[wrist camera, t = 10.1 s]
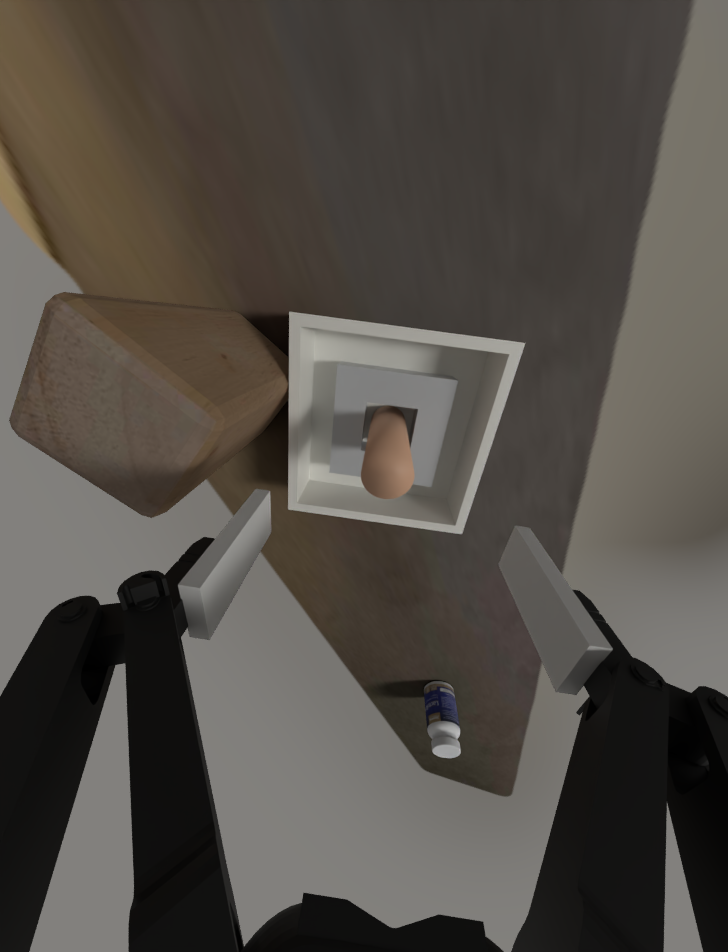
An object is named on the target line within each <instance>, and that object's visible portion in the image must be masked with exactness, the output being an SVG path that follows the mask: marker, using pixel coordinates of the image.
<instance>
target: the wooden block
mask: <svg viewBox="0 0 728 952" xmlns="http://www.w3.org/2000/svg"><path fill="white" fill-rule="evenodd" d="M288 399H289V357H288V356H287V355H286V354H284V353H283V352H282V351H281V350H280V349H279V348H278V347H277V346H276V345H274V344H273V343H272V342H271V341H270V340H269V339H268V338H267V337H265V336H264V335H263V334H262V333H261V332H260V331H259V330H258V329H257V328H255V327H254V326H253V325H252V324H251V323H250V322H249V321H248V320H247V319H245V318H244V317H243V316H242V315H241V314H240V313H238V312H235V311H233V310H224V309H215V308H205V307H196V306H187V305H178V304H169V303H159V302H150V301H141V300H132V299H123V298H113V297H104V296H95V295H86V294H76V293H67V292H63V293H60V294H57V295H54V296H53V297H52V298H51V299H50V300H49V301H48V302H47V303H46V304H45V307H44V310H43V314H42V317H41V320H40V323H39V326H38V330H37V333H36V336H35V339H34V343H33V346H32V349H31V352H30V355H29V359H28V362H27V365H26V368H25V372H24V375H23V378H22V381H21V384H20V387H19V391H18V394H17V397H16V400H15V404H14V407H13V410H12V413H11V417H10V420H9V421H10V424H11V427H12V429H13V430H14V431H15V432H16V434H17V435H18V436H19V437H21V438H22V439H24V440H25V441H27V442H28V443H30V444H31V445H33V446H35V447H36V448H38V449H39V450H41V451H42V452H44V453H46V454H47V455H49V456H50V457H52V458H53V459H55V460H56V461H58V462H60V463H61V464H63V465H64V466H66V467H67V468H69V469H70V470H72V471H74V472H75V473H77V474H78V475H80V476H82V477H83V478H85V479H86V480H88V481H89V482H91V483H92V484H94V485H95V486H97V487H99V488H100V489H102V490H103V491H105V492H107V493H108V494H109V495H111V496H113V497H114V498H116V499H117V500H119V501H120V502H122V503H124V504H125V505H127V506H128V507H130V508H131V509H133V510H135V511H136V512H138V513H139V514H141V515H144V516H147V517H150V518H152V517H155V516H158V515H160V514H162V513H165V512H167V511H168V510H169V509H170V508H171V507H173V506H174V505H175V504H176V503H178V502H179V501H180V500H181V499H182V498H184V497H185V496H186V495H187V494H188V493H189V492H191V491H192V490H193V489H194V488H196V487H197V486H198V485H199V484H201V483H202V482H203V481H204V480H205V479H207V478H208V477H209V476H210V475H211V474H213V473H214V472H215V471H216V470H217V469H219V468H220V467H221V466H222V465H224V464H225V463H226V462H227V461H228V460H230V459H231V458H232V457H233V456H234V455H236V454H237V453H238V452H239V451H240V450H242V449H243V448H244V447H245V446H247V445H248V444H249V443H250V442H251V441H253V440H254V439H255V438H256V437H257V436H259V435H260V434H261V433H262V432H263V431H264V430H265V429H266V428H267V427H268V425H269V424H270V423H271V421H272V420H273V419H274V417H275V416H276V415H277V414H278V412H279V411H280V410H281V408H282V407H283V406H284V405H285V403H286V402H287V401H288Z"/></svg>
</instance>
